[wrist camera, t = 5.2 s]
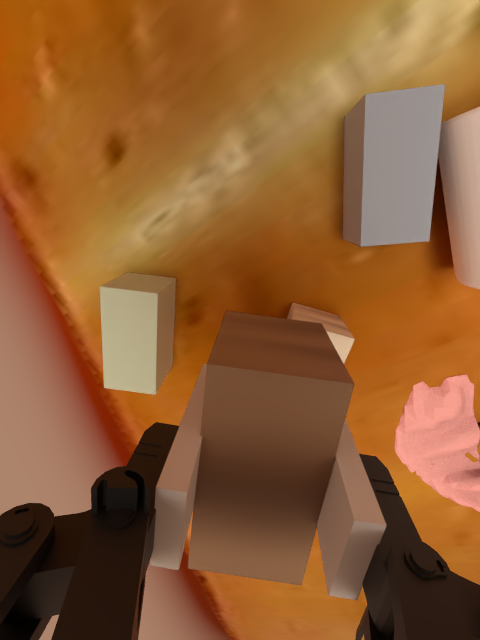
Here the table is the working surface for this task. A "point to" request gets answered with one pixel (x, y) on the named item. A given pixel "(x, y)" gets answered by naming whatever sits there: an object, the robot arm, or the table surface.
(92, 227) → the table surface
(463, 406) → the cloth
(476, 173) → the mug
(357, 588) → the robot arm
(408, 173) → the slate brick
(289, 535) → the walnut brick
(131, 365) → the sage brick
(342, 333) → the birch brick
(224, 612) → the table surface
